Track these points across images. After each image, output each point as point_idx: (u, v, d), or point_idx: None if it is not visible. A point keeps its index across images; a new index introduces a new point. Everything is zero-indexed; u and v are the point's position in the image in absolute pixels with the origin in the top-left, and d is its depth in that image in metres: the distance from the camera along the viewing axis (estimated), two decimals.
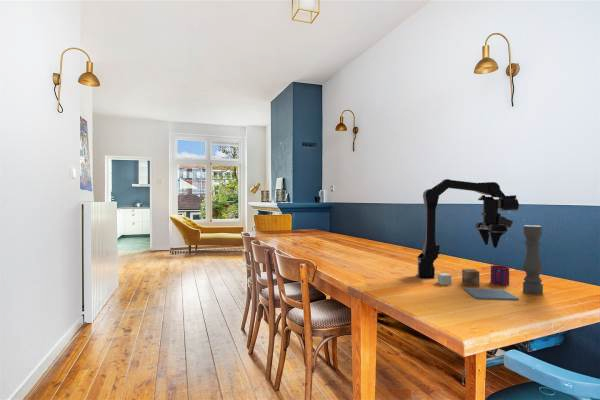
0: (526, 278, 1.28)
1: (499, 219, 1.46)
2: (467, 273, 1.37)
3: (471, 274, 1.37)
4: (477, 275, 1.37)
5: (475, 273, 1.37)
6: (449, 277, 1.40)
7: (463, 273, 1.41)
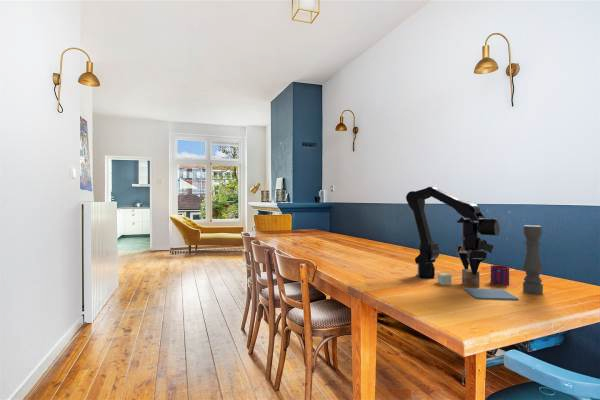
0: (526, 278, 1.28)
1: (479, 244, 1.36)
2: (467, 273, 1.37)
3: (471, 274, 1.37)
4: (477, 275, 1.37)
5: None
6: (449, 277, 1.40)
7: (463, 273, 1.41)
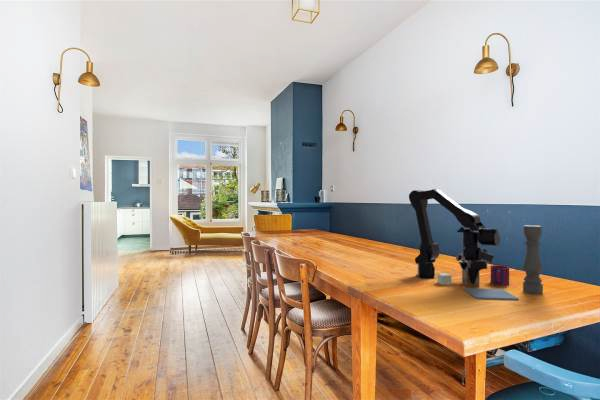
0: (526, 278, 1.28)
1: (479, 254, 1.36)
2: (467, 273, 1.37)
3: None
4: (477, 275, 1.37)
5: None
6: (449, 277, 1.40)
7: (463, 273, 1.41)
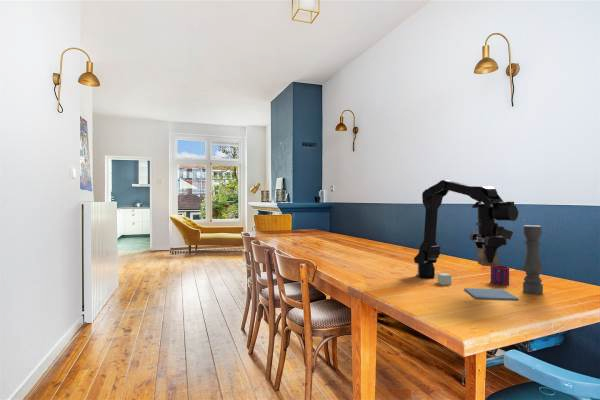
0: (526, 278, 1.28)
1: (496, 230, 1.24)
2: (484, 251, 1.25)
3: None
4: (495, 253, 1.25)
5: None
6: (449, 277, 1.40)
7: (479, 252, 1.28)
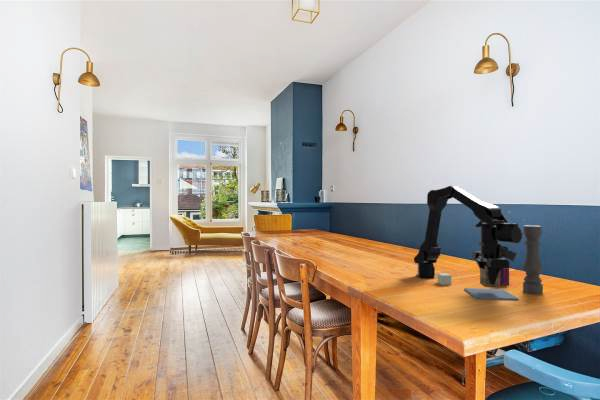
0: (526, 278, 1.28)
1: (500, 251, 1.22)
2: (486, 272, 1.23)
3: None
4: None
5: None
6: (449, 277, 1.40)
7: (481, 272, 1.26)
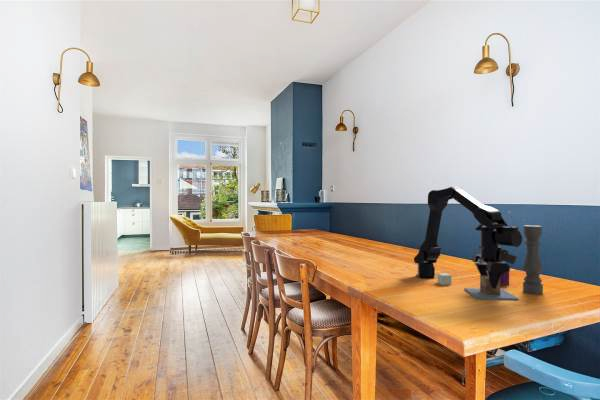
0: (526, 278, 1.28)
1: (500, 254, 1.22)
2: (486, 280, 1.23)
3: None
4: (498, 282, 1.23)
5: None
6: (449, 277, 1.40)
7: (481, 280, 1.26)
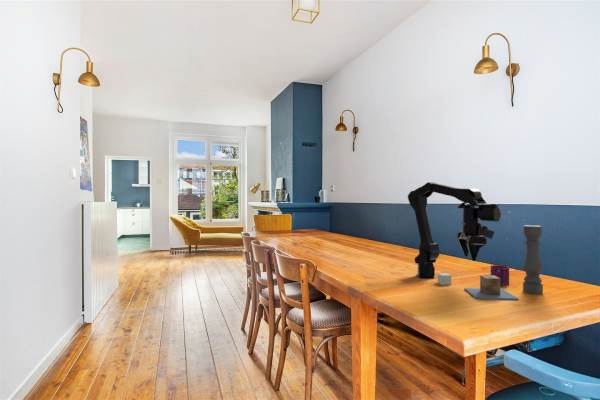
0: (526, 278, 1.28)
1: (479, 229, 1.34)
2: (486, 280, 1.23)
3: (491, 281, 1.23)
4: (498, 282, 1.23)
5: (496, 280, 1.23)
6: (449, 277, 1.40)
7: (481, 280, 1.26)
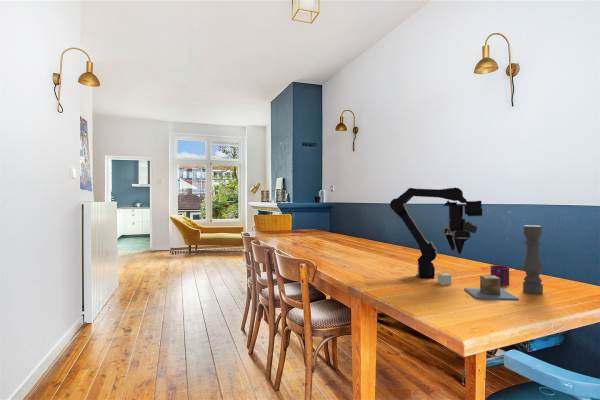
0: (526, 278, 1.28)
1: (463, 225, 1.45)
2: (486, 280, 1.23)
3: (491, 281, 1.23)
4: (498, 282, 1.23)
5: (496, 280, 1.23)
6: (449, 277, 1.40)
7: (481, 280, 1.26)
